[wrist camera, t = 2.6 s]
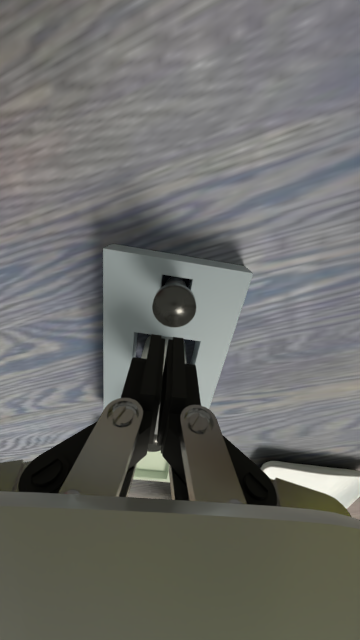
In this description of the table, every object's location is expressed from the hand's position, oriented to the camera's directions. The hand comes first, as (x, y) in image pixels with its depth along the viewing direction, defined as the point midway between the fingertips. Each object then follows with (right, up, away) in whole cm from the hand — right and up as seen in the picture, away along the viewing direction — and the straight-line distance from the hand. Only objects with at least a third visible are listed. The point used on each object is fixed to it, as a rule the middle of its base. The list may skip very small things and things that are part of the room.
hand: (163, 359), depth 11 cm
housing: (-1, -2, +16) cm, 17 cm away
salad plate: (+24, -32, +33) cm, 52 cm away
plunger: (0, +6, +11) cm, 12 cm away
